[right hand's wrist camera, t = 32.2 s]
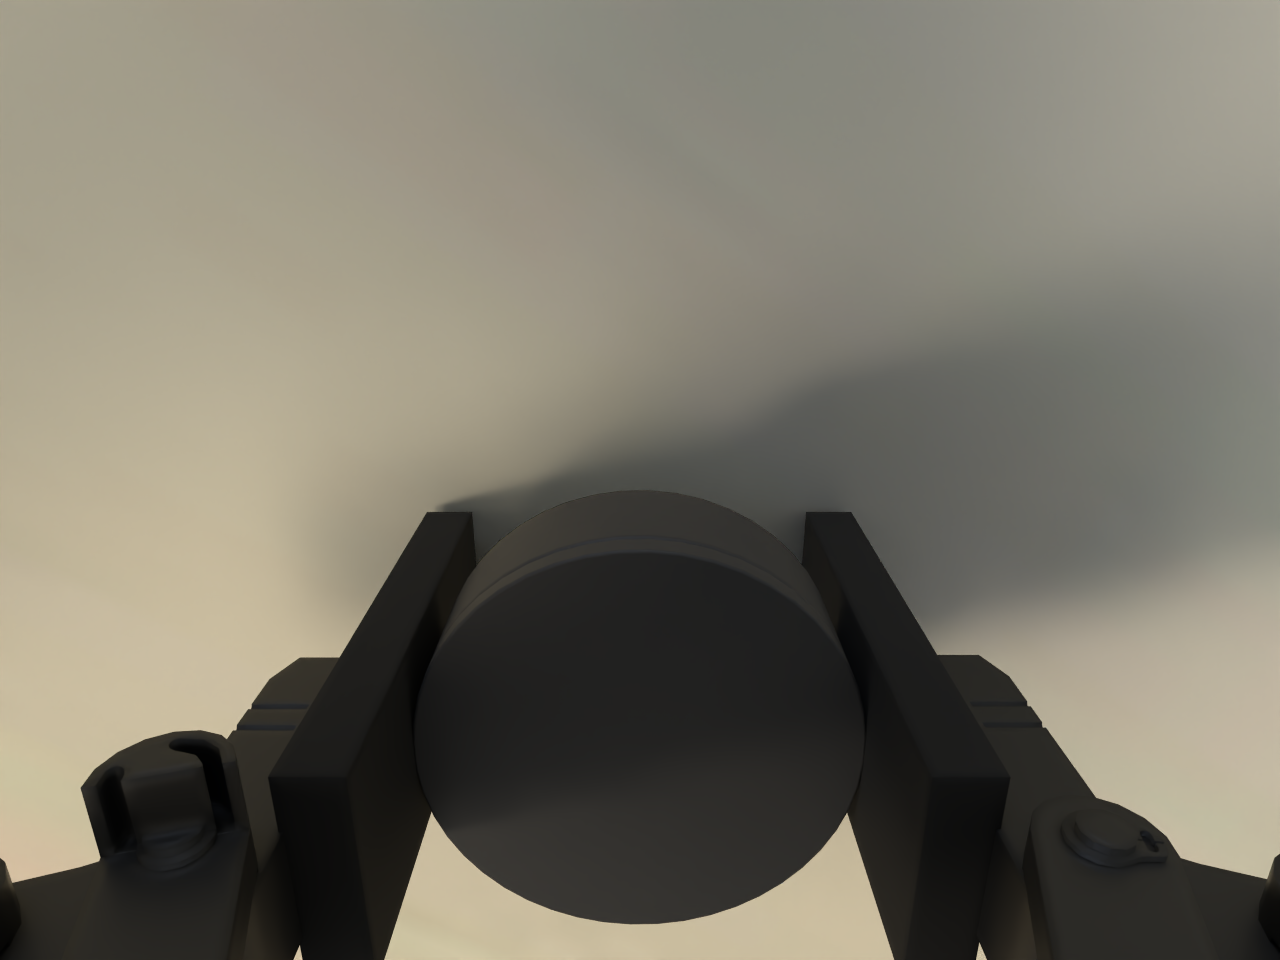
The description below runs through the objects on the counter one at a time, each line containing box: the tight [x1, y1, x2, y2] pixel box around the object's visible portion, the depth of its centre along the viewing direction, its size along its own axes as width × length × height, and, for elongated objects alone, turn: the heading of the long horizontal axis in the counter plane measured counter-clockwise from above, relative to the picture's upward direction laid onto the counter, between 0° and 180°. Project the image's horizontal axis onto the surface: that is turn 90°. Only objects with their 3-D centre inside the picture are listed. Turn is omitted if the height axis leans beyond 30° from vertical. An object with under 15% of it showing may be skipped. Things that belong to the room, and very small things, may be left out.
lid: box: [413, 490, 866, 924], centre depth 11 cm, size 6×6×2 cm
